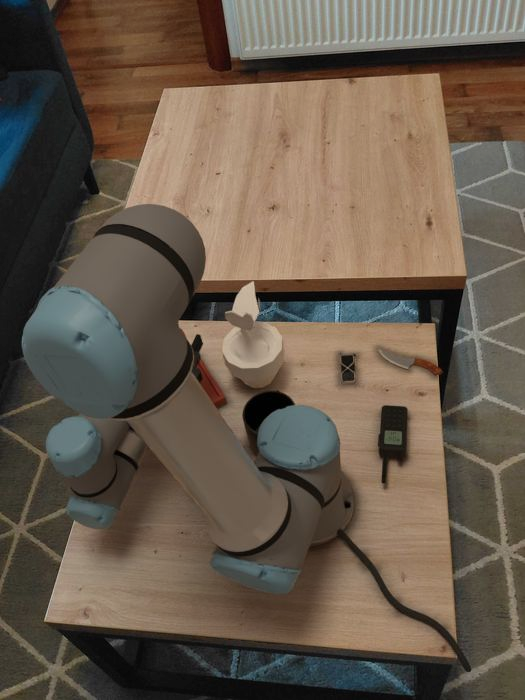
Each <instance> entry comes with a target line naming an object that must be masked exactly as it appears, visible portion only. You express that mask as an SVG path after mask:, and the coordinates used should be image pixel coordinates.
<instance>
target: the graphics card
mask: <svg viewBox="0 0 525 700" xmlns="http://www.w3.org/2000/svg"><path fill="white" fill-rule="evenodd" d="M339 354H340V355H339V356H340V357H339V358H340V374H341V384H342V385H352V384H353V385H354V384H355V383H356V373H355V372H356V371H355V369H356V368H357V360H356V353H347V354H345V353H343V354H342V352H340V353H339Z"/></svg>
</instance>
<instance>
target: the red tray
mask: <svg viewBox="0 0 525 700" xmlns="http://www.w3.org/2000/svg"><path fill="white" fill-rule="evenodd" d="M197 368H200V370H201V373H202V376H203V380H202V381H201V383H200V385H201V386H202V388H203V389H204V391H205V392H206V394H207V395H208V397H209V398H210V399H211V401H212V402H213V404H214V405H215V407H216V408H217V409H219V408H220V407H223V406H224V405H227V404H228V401H227V398H226V396H225V394H224V393H223V392H222V389H221V388H220V387H219V384H218V383H217V382H216V380H215V379H214V377H213V376H212V374H211V372H210V371H209V369H208V368H207V366H206V364H205V362H204V361H203V359H202V358H201V359H200V362H199V364H198V366H197Z"/></svg>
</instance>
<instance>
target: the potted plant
mask: <svg viewBox="0 0 525 700" xmlns="http://www.w3.org/2000/svg"><path fill="white" fill-rule="evenodd" d="M260 311H261V299H260V298H258V299H257V296H256V286H255V281H254V280H252V281H251V282H249V283H247V284H246V285H244V286H243V287H241V289H240V290H239V292H238V293H237V294H236V296H235V299H234V302H233V305H232V309H231V310H228V311H225V312H224V319H225V320H226V321H227V322H228V323H229V324H231V325H232V326H233V328H232V329H231V330H230V331H229V332H228V333H227V334H226V335H225V337H224V338H223V340H222V348H221V353H222V357H223V361H224V365H225V366H226V368H227V370H228V371H229V373H230V374H231V376H232V377H235V378H237V379H239V380H241V381H242V382H243V383H244V385H246V386H248V387H249V388H252V389H259V388H260V389H262V388H264V387H266V386H268V385H270V384H271V383H272V382H273V380H274V379H275V377H276V375H277V372H278V371H279V370H280V368H282V366H283V365H284V363H285V346H284V340H283V338H284V337H283V336H282V334H281V333H280V332H279V330H278V329H277V328H276V327H275V326H273V325H271V324H268V323H266V322H263V321H256V320H258V317H259V315H260ZM265 317H266V318H267V317H268V314H267V312H265Z"/></svg>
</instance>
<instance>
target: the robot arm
mask: <svg viewBox="0 0 525 700" xmlns="http://www.w3.org/2000/svg"><path fill="white" fill-rule="evenodd" d="M206 254H207V253H206V246H205V243H204V241H203V237H202V236H201V233H200V232H199V230H198V229H197V227H196V226H195V225H194V223H193V222H192V221H191V220H190V219H188V218H187V216H185V215H184V214H182V213H181V212H179V211H177V210H176V209H174V208H171V207H168V206H165V205H162V204H155V203H143V204H137V205H136V204H135V205H132V206H129V207H126V208H124V209H121V210H120V211H118V212H116V213H115V214H113V215H112V216H111V217H109V218H108V219H106V220H105V222H103V224H102V225H101V226H100V227H99V229H98V230H97V231H96V232H95V234H94V235H93V237H92V238H91V239H90V240H89V241H88V243H86V245H85V246H84V248H83V249H82V250H81V252H80V253H79V254H78V255H77V257H76V258H75V259H74V261H73V262H72V263H71V264H70V266H69V267H68V268H67V269H66V271H64V273H63V274H62V276H61V277H60V279H58V281H57V283H56V284H55V285H54V286H53V287H52V288H50V289H48V291H47V292H45V294H44V295H43V296H42V297H41V298H40V299H39V302H38V303H37V307H36V309H35V310H34V312H33V313H32V315H30V317H29V319H28V320H27V321H26V323H25V326H24V327H23V330H22V331H23V333H22V336H21V350H22V354H23V357H24V360H25V363H26V365H27V367H28V368H29V370H30V372H31V373H32V375H33V377H34V378H35V380H36V381H37V382H38V383H39V384H40V385H41V386H42V387H43V388H44V390H46V392H48V393H49V394H50V395H51V397H53V398H55V399H56V400H58V399H60V400H61V401H62V402H63V403H64V405H65V407H67V408H69V409H70V410H73V411H74V412H76V413H78V415H77V416H68V417H66V418H63V419H62V420H61V421H60V422H58V423H57V424H54V425H53V426H52V427H51V429H50V430H49V432H48V433H47V436H46V440H45V451H46V453H47V456H48V458H49V460H50V462H51V463H52V466H53V467H54V470H56V471H57V473H58V474H59V475H60V476H61V477H62V478H63V479H64V481H65V482H66V483H67V484H68V485H69V489H70V490H71V491H72V494H71V495H70V496H69V498H68V499H69V500H68V503H67V505H66V509H65V510H66V514H67V516H68V517H69V518H70V519H72V520H73V521H74V522H76V523H78V524H80V525H82V526H84V527H86V528H89V529H92V530H98V531H103V530H106V529H108V528H110V527H111V526H112V524H113V523H114V521H115V518H116V517H117V515H118V513H119V512H120V511H121V510H122V506H123V503H124V501H125V499H126V498H127V497H126V496H127V494H128V492H129V490H130V488H131V486H132V483H133V481H134V479H135V477H136V474H137V472H138V471H139V468H140V466H141V464H142V461H144V459H145V455H146V453H147V451H148V448H149V449H150V451H152V453H153V454H154V455H155V457H156V458H157V459H158V460H159V461H160V463H161V464H162V465H163V466H164V467H165V468H166V469H167V470H168V472H169V473H170V474H171V475H172V477H173V478H174V479H175V480H176V481H177V482H178V484H179V485H180V486H181V487H182V488H183V489H184V491H185V492H186V493H187V494H188V495H189V497H190V498H191V499H192V500H193V501H194V503H195V504H196V505H197V506H198V507H199V508H200V509H201V510H202V512H203V513H204V514H205V528H206V533H207V535H208V537H209V538H210V540H211V541H212V543H214V544H215V546H216V547H215V550H213V551H212V552H211V559H210V566H211V568H212V570H214V571H215V572H216V573H218V574H219V575H222V576H223V577H225V578H226V579H228V580H230V581H232V582H235V583H238V584H239V585H242V586H245V587H248V588H251V589H252V590H253V589H254V590H257V591H259V592H260V591H261V592H264V593H268V594H272V595H273V594H274V595H285V594H288V593H290V592H291V591H292V590H293V589H294V587H295V584H296V582H297V580H298V577H299V575H300V574H301V573H302V571H303V566H304V562H305V560H306V557H307V554H308V551H309V548H310V547H316V546H321V545H325V544H327V543H329V542H332V541H333V540H334V539H337V537H339V538H341V539H342V540H343V542H344V543H345V544H347V546H348V547H349V548H350V549H351V551H352V552H354V554H355V555H356V556H357V557H358V558H359V560H361V561H362V562H363V563H364V565H365V566H366V567H367V568H368V570H369V571H370V573H371V574H372V576H373V578H374V580H375V581H376V583H377V585H378V587H379V589H380V591H381V593H382V594H383V596H384V597H385V598H386V599H387V601H388V603H390V604H391V606H393V607H394V608H395V609H396V610H398V611H399V612H401V613H403V614H405V615H407V616H409V617H411V618H414V619H416V620H419V621H421V622H423V623H426V624H428V625H429V626H431V627H432V628H434V629H435V630H436V631H437V632H438V633H439V634H441V636H442V637H443V638H444V639H445V640H446V642H447V644H448V645H449V646H450V647H451V649H452V650H453V652H454V654H455V655H456V657H457V659H458V661H459V662H460V664H461V666H462V668H463V669H464V671H465V672H467V673H471V672H472V667H471V665H470V662H469V661H468V659H467V658H466V655H465V654H464V652H463V651H462V649H461V647H460V645H459V644H458V643H457V641H456V639H455V638H454V637H453V636H452V634H451V633H450V632H449V631H448V630H447V628H445V627H444V626H443V625H442V624H441V623H440V622H438V621H437V620H435V619H434V618H432V617H431V616H428V615H426V614H424V613H421V612H418V611H417V610H414V609H412V608H409V607H407V606H405V605H404V604H402V603H401V602H400V601H398V600H397V599H396V598H395V597H394V596H393V594H392V593H391V592H390V591H389V589H388V587H387V586H386V583H385V582H384V580H383V578H382V576H381V574H380V572H379V571H378V569H377V567H376V566H375V565H374V564H373V562H372V561H371V560H370V558H369V557H368V556H367V555H366V554H365V553H364V552H363V551H362V550H361V549H360V548H359V547H358V546H357V544H356V543H354V541H353V540H352V539H351V538H350V537H349V536H348V535H347V534H346V532H345V530H346V529H347V527H348V525H349V524H350V522H351V520H352V518H353V514H354V510H355V496H354V490H353V486H352V484H351V482H350V480H349V478H348V477H347V476H346V474H345V472H344V471H342V466H341V465H342V464H341V463H342V462H341V438H340V435H339V432H338V428H337V427H336V424H335V423H334V421H333V420H332V418H331V417H330V416H328V415H327V413H325V412H324V411H322V410H320V409H319V408H316V407H313V406H309V405H304V404H295V405H292V406H287V407H286V408H283V409H278V410H276V411H274V412H273V413H271V414H270V415H269V416H268V417H266V419H265V420H264V421H263V422H262V424H261V426H260V428H259V431H258V438H257V445H258V449H259V453H258V456H256V458H255V461H253V459H252V457H250V455H249V454H248V452H247V450H246V449H245V447H244V446H243V445H242V444H241V442H240V440H239V439H238V438H237V436H236V435H235V433H234V431H233V430H232V429H231V427H230V426H229V425H228V423H227V421H226V420H225V419H224V417H223V416H222V414H221V413H220V411H219V410H218V408H216V407H215V405H214V404H213V402H212V401H211V399H210V398H209V397H208V395H207V394H206V392H205V391H204V389H203V388H202V386H201V385H200V383H201V381H202V380H203V376H202V373H201V370H200V368H197V366H198V364H199V362H200V359H201V360H202V356H201V353H200V352H201V350H202V348H203V346H204V341H203V339H202V335H201V334H199V333H196V334H195V336H194V338H193V341H192V342H191V343H190V341H189V340H188V338H187V336H186V337H185V335H186V334H185V335H184V334H183V332H184V331H183V332H182V331H181V329H182V328H181V327H180V325H179V321H180V319H181V318H182V316H183V315H184V313H185V311H186V310H187V308H188V306H189V305H190V303H191V302H192V300H193V297H194V295H195V294H196V292H197V290H198V288H199V286H200V284H201V283H202V279H203V277H204V273H205V269H206V262H207V255H206ZM180 328H181V329H180Z"/></svg>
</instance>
